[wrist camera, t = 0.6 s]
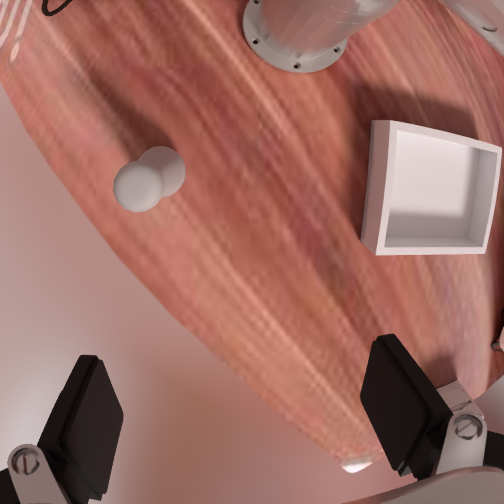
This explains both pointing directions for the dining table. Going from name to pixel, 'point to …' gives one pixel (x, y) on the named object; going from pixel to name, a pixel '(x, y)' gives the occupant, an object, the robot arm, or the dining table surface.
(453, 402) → the supplement box
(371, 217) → the bin
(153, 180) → the salt shaker
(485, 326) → the dining table surface
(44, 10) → the coffee mug
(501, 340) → the coffee press
